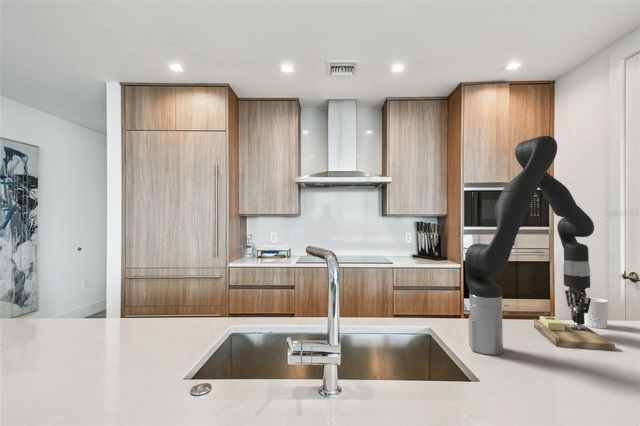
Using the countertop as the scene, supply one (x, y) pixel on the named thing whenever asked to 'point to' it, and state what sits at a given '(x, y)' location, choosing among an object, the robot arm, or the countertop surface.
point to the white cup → (597, 313)
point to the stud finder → (552, 323)
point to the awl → (576, 326)
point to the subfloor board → (575, 337)
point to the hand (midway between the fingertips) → (577, 322)
